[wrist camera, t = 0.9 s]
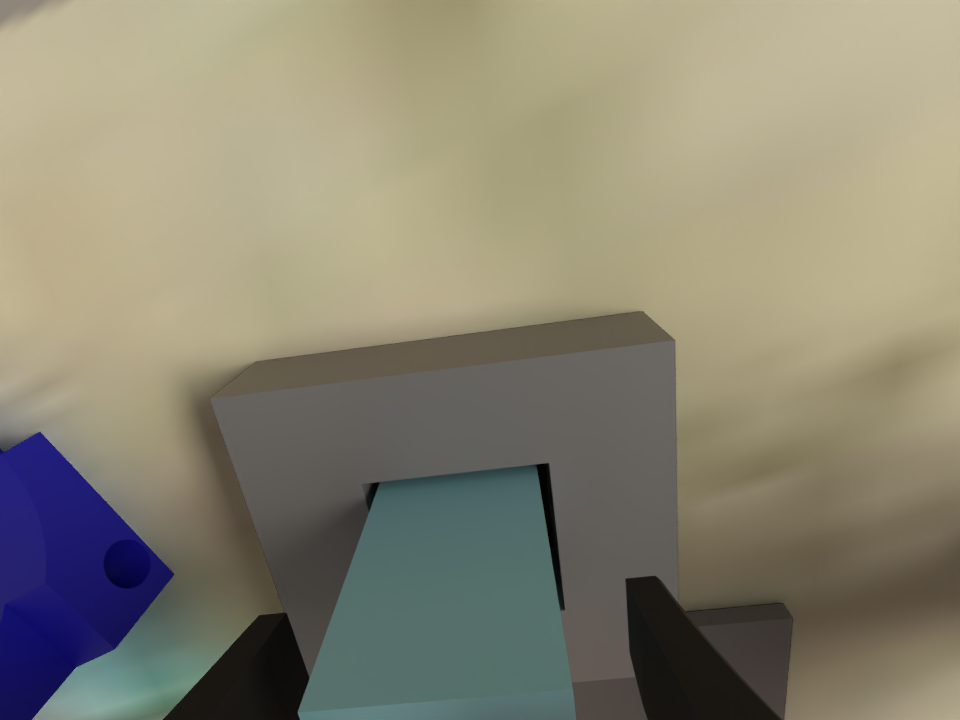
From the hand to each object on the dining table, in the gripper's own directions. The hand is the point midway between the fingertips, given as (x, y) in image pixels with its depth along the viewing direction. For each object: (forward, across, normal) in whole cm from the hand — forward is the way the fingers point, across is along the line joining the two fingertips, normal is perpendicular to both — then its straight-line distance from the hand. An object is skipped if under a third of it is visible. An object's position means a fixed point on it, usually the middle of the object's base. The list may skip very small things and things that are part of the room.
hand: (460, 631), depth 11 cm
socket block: (+5, 0, 0) cm, 5 cm away
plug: (+5, 0, 0) cm, 5 cm away
